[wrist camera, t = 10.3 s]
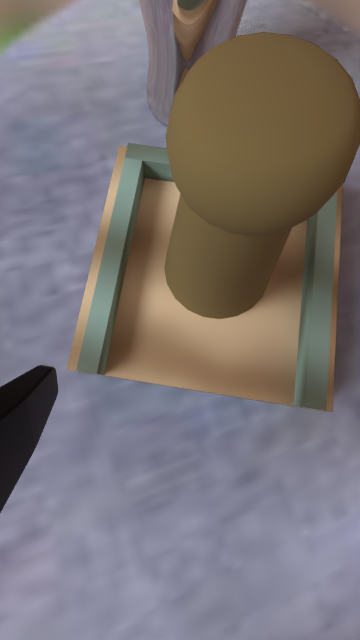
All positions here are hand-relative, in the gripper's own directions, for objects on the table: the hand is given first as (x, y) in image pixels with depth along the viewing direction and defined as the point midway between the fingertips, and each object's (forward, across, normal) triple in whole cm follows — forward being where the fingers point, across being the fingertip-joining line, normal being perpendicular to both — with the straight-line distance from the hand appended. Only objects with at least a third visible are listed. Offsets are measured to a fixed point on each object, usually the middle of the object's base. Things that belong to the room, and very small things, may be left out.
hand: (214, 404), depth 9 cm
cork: (+11, 0, 0) cm, 11 cm away
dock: (+12, 0, +2) cm, 12 cm away
